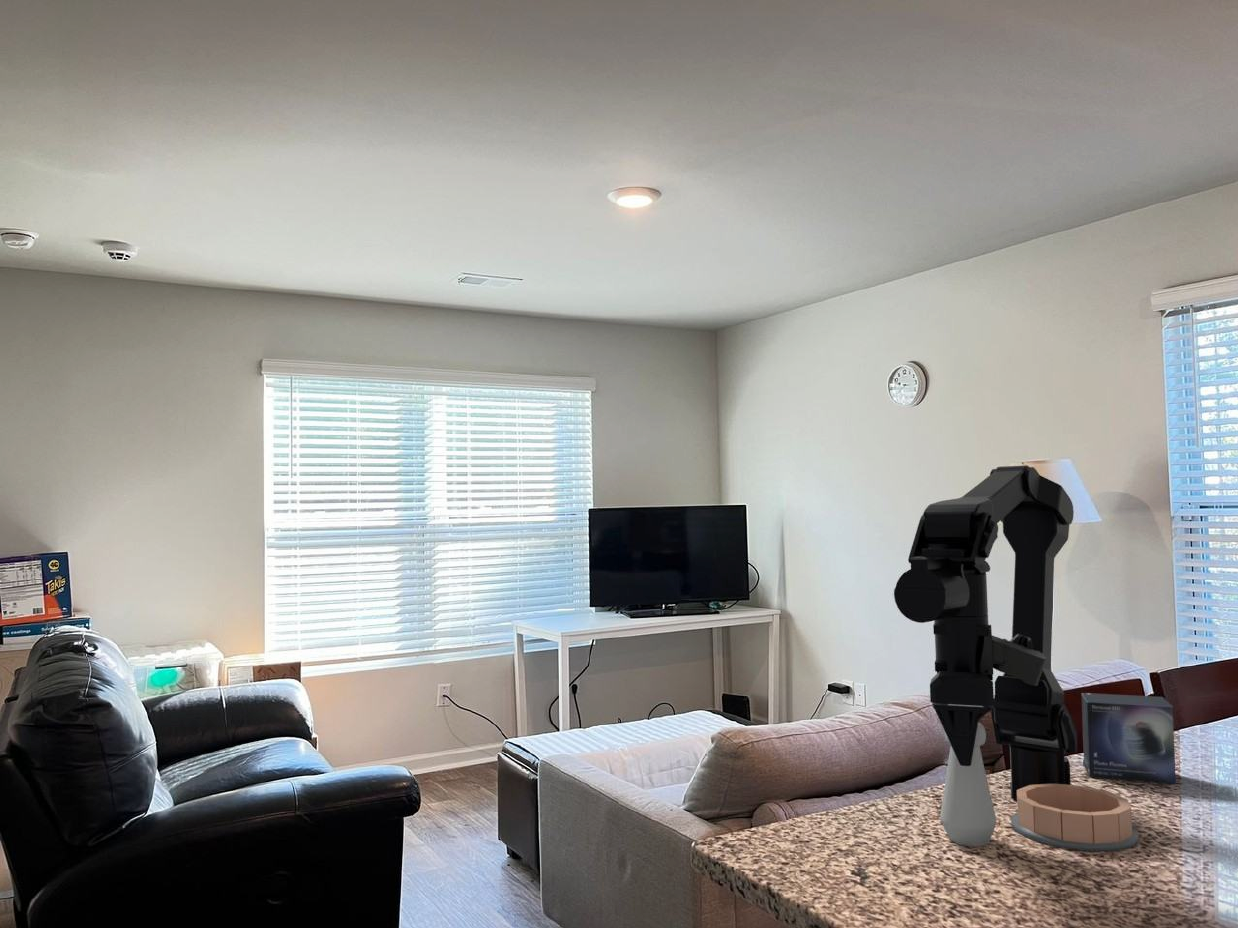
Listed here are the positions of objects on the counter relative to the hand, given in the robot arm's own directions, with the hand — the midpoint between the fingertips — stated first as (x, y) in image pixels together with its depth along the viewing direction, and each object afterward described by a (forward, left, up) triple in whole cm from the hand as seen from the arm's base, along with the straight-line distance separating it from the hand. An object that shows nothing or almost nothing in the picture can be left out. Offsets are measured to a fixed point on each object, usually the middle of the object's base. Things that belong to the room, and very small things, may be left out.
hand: (966, 754), depth 102 cm
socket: (+11, +7, -9) cm, 16 cm away
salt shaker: (0, 0, -10) cm, 10 cm away
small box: (+20, +34, -10) cm, 40 cm away
